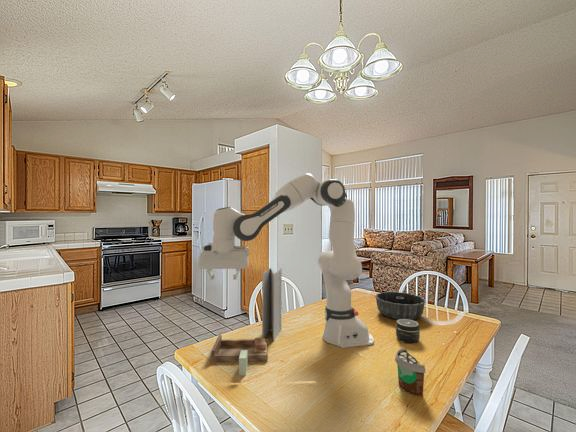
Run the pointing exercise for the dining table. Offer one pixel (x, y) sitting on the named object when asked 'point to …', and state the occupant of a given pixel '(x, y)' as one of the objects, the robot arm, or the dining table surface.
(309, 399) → the dining table surface
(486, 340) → the dining table surface
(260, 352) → the offcut
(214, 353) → the tray
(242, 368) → the pale green brick
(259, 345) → the offcut
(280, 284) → the brochure
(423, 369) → the food container
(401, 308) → the bundt pan
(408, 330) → the jar
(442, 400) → the dining table surface
